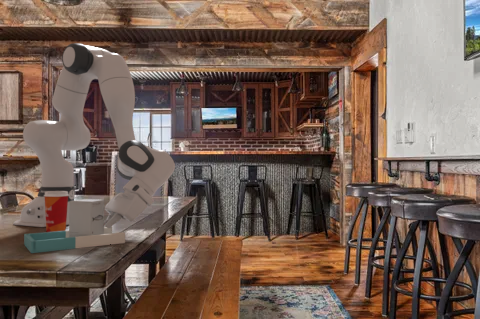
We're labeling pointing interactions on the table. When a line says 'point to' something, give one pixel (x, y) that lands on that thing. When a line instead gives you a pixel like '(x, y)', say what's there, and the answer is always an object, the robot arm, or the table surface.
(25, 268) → the table surface
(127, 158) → the robot arm
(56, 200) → the paper cup
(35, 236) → the push lane
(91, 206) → the supplement box
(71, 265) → the table surface
